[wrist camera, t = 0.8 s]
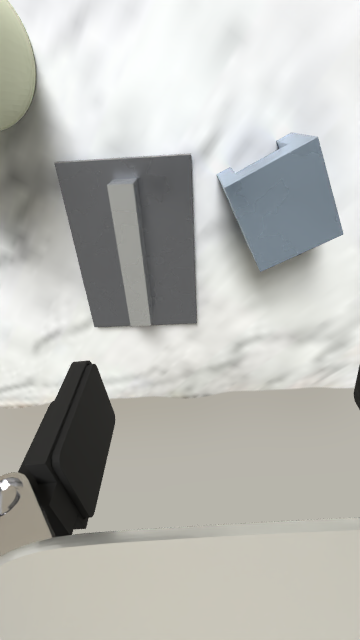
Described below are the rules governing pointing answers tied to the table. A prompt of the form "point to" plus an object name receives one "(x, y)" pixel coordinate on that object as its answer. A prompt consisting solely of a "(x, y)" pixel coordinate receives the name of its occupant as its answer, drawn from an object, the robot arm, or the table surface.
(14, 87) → the can
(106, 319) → the rail
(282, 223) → the blue-grey slotted block
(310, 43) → the table surface
